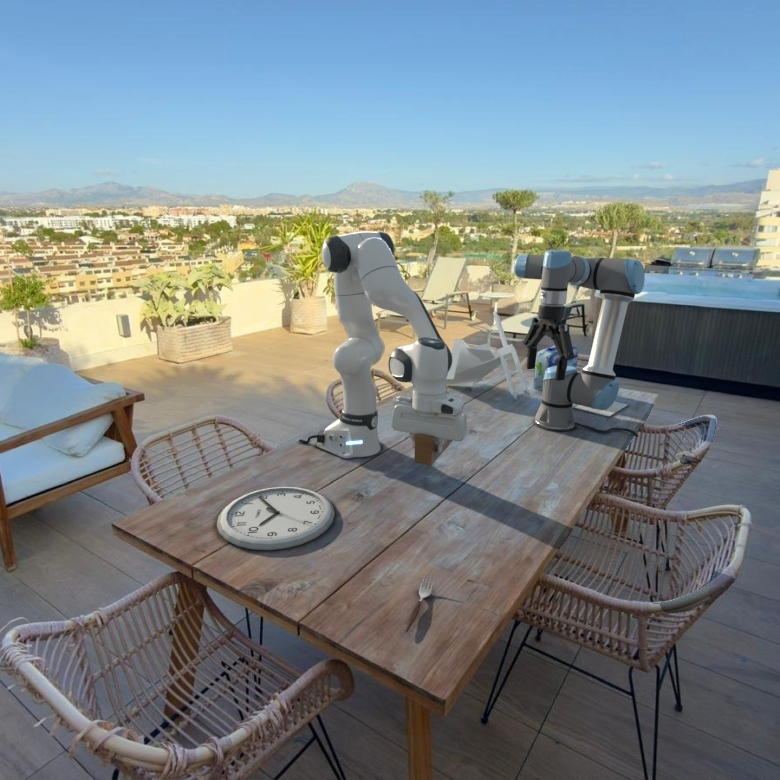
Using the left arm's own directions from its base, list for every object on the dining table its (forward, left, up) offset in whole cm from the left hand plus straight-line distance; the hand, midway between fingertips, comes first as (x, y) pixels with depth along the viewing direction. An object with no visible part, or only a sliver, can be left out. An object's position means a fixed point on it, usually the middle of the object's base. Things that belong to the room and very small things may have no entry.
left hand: (427, 450), depth 139 cm
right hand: (+19, +41, +14) cm, 48 cm away
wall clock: (-30, -27, -16) cm, 43 cm away
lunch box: (+2, +130, -16) cm, 131 cm away
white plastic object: (-26, +105, -16) cm, 109 cm away
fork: (+18, -37, -16) cm, 45 cm away
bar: (-1, +9, -3) cm, 10 cm away
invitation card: (+26, +115, -16) cm, 119 cm away
